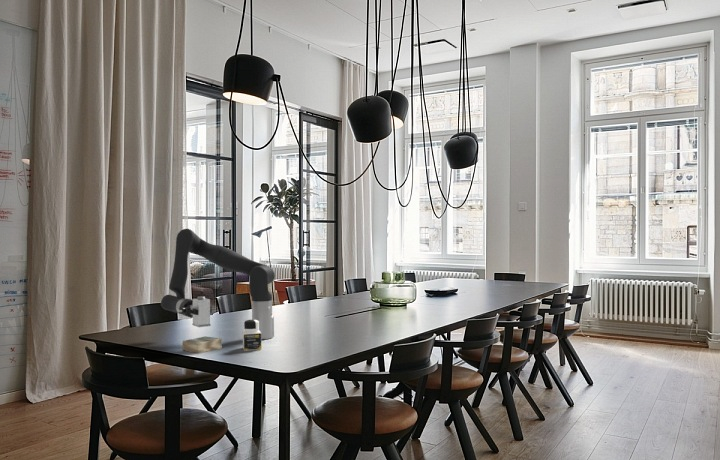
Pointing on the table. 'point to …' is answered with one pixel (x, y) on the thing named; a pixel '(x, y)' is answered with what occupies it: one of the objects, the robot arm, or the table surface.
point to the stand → (202, 344)
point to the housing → (201, 312)
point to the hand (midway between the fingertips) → (204, 311)
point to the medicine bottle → (251, 335)
